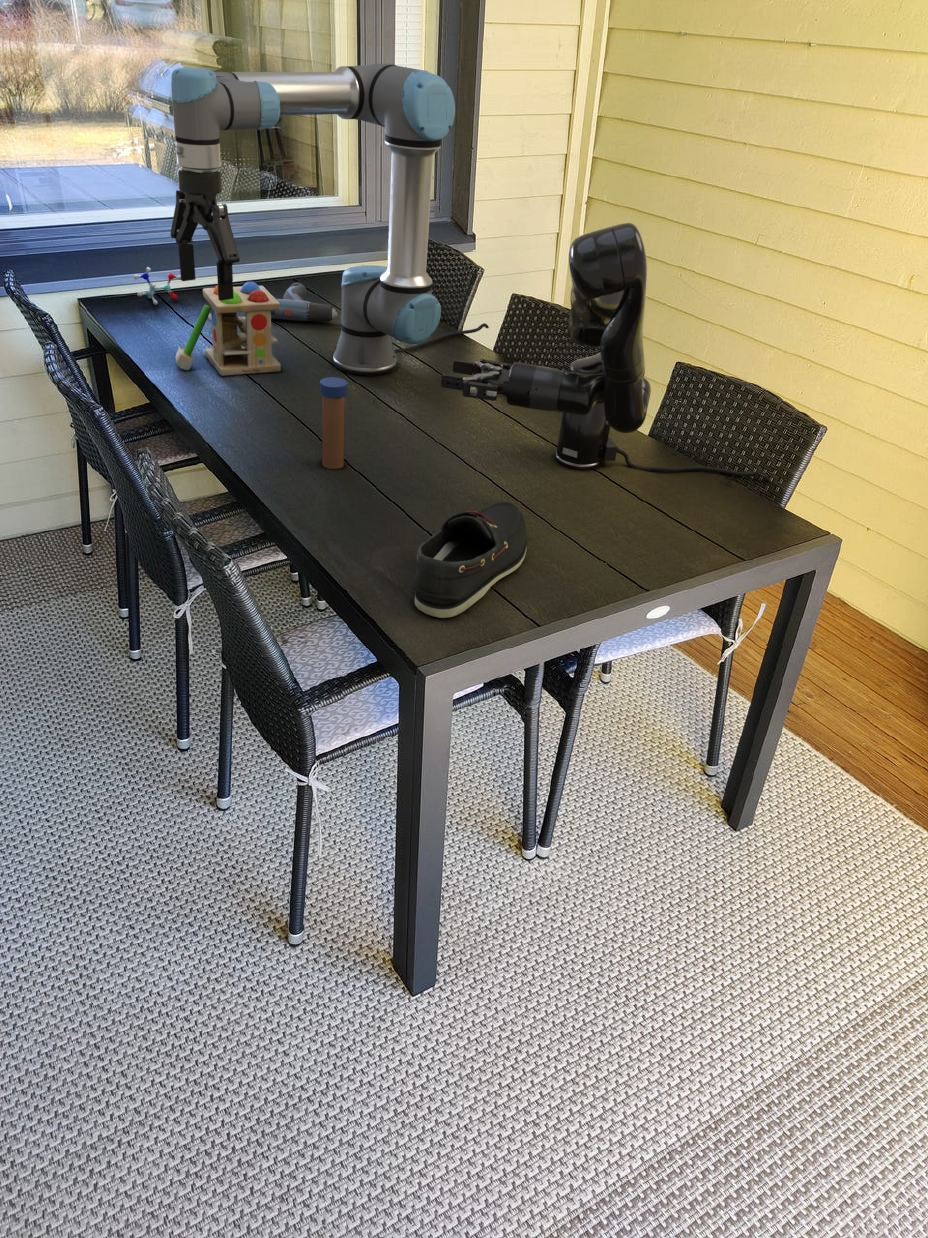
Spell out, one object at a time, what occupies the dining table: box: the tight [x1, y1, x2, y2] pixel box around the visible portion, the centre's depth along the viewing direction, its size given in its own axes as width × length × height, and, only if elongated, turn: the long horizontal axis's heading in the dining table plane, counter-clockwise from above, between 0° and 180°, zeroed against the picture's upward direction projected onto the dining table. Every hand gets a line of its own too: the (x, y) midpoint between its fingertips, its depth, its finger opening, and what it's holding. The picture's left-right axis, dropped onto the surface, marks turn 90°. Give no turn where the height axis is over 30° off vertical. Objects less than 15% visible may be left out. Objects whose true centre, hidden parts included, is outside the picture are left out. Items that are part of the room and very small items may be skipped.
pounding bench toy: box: [174, 281, 282, 377], centre depth 225 cm, size 23×14×18 cm, turn 116°
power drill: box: [271, 282, 338, 322], centre depth 265 cm, size 5×19×20 cm
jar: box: [321, 395, 346, 470], centre depth 187 cm, size 4×4×16 cm
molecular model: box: [133, 266, 181, 306], centre depth 263 cm, size 12×10×10 cm
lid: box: [319, 376, 348, 398], centre depth 183 cm, size 5×5×2 cm
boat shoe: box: [412, 501, 528, 619], centre depth 161 cm, size 13×33×10 cm, turn 147°
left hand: (206, 289), depth 186 cm, fingers open, 13 cm apart
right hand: (447, 372), depth 176 cm, fingers open, 8 cm apart
